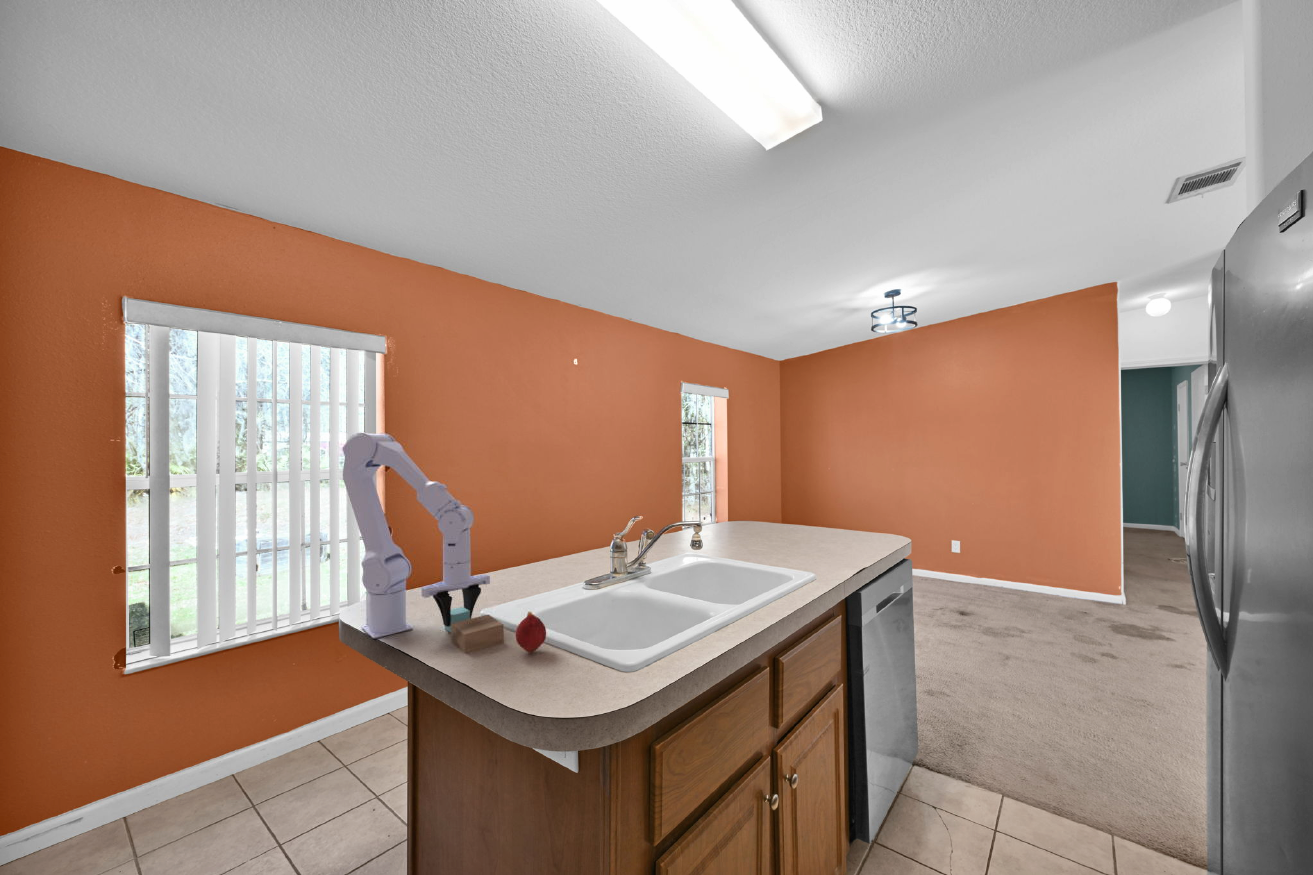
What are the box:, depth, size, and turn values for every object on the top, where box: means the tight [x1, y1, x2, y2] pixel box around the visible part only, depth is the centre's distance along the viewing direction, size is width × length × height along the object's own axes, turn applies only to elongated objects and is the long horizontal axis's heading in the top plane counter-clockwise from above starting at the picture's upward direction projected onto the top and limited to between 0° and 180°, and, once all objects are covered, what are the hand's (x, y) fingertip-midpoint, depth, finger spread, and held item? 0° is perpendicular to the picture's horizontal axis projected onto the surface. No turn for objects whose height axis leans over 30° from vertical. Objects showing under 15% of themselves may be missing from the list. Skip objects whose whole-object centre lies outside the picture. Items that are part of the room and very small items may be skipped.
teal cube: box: [444, 606, 470, 634], centre depth 111 cm, size 4×4×4 cm
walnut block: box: [450, 614, 505, 654], centre depth 104 cm, size 8×8×4 cm
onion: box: [515, 611, 547, 654], centre depth 98 cm, size 6×6×8 cm
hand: (457, 622), depth 111 cm, fingers closed on teal cube, 4 cm apart
